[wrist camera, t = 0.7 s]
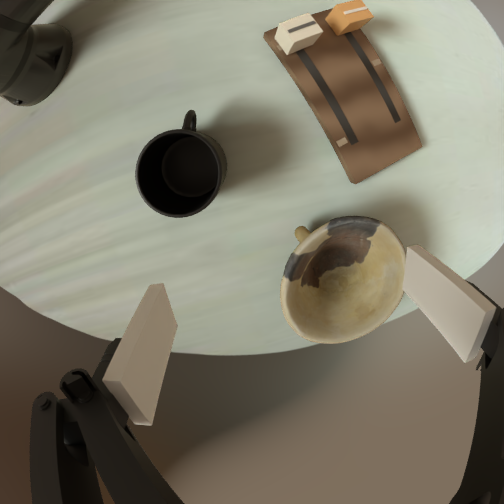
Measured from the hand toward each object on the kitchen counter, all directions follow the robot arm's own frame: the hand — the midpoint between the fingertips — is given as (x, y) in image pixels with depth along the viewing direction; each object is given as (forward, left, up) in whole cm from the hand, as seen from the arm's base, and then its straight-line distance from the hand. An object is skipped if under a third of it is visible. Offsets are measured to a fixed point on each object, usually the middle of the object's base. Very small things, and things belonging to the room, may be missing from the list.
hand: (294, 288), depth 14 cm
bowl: (+14, +4, -25) cm, 29 cm away
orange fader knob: (-16, +23, -23) cm, 36 cm away
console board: (-7, +19, -25) cm, 32 cm away
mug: (-9, -5, -25) cm, 27 cm away
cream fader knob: (-16, +14, -23) cm, 31 cm away
